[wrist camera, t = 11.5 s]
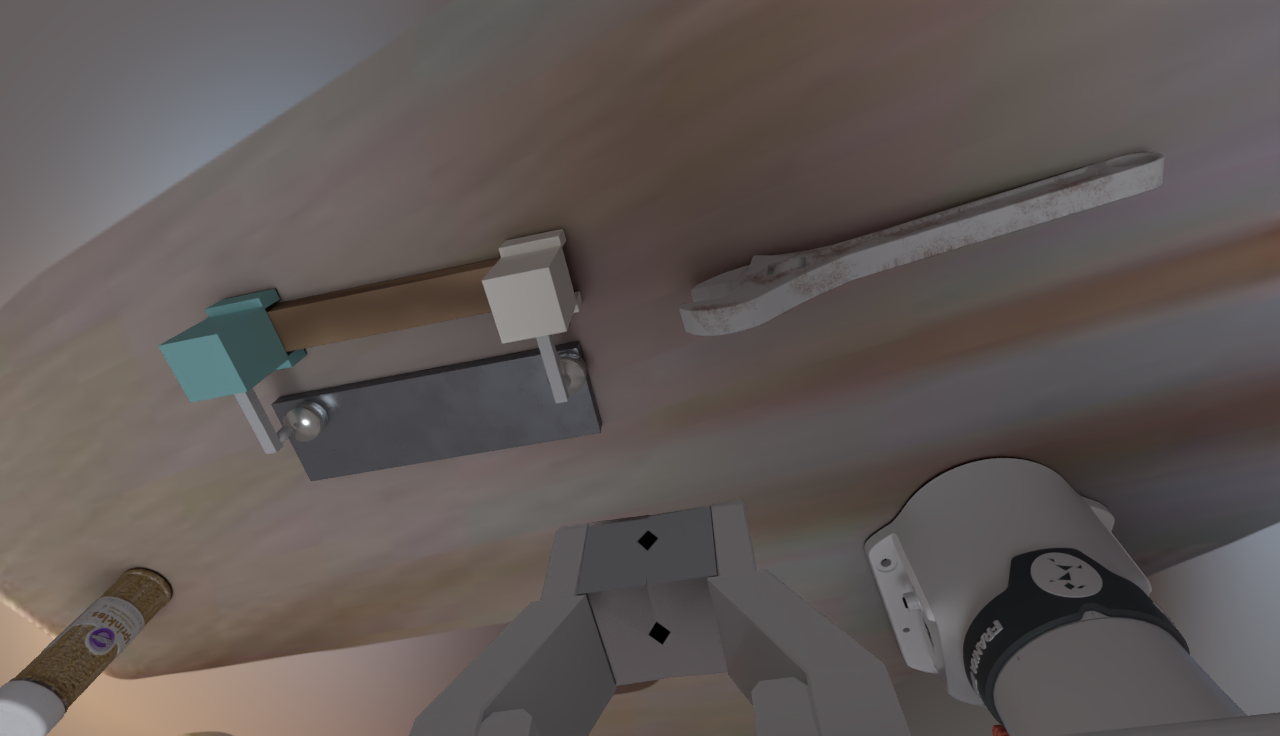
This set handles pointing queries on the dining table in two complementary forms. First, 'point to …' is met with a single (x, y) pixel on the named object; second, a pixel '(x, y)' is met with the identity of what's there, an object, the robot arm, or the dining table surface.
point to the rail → (382, 307)
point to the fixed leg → (534, 298)
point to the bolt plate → (438, 413)
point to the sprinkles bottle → (80, 654)
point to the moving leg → (233, 358)
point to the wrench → (906, 244)
